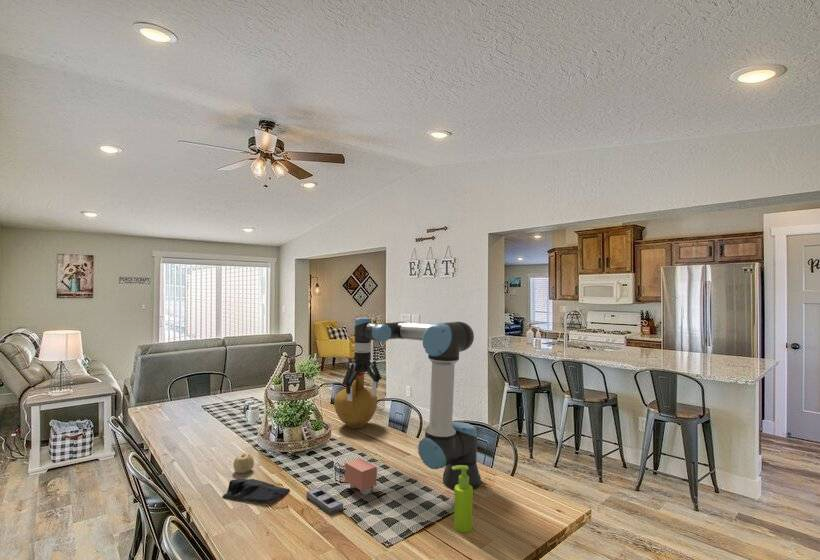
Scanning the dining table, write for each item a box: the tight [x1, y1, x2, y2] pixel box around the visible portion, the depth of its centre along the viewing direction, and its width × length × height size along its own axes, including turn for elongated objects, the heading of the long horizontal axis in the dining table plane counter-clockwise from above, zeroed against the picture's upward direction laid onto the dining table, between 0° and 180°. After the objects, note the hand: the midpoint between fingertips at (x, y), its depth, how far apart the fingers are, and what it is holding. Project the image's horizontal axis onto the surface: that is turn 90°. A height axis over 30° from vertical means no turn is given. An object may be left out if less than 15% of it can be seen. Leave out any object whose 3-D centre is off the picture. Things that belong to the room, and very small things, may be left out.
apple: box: [233, 452, 255, 474], centre depth 181 cm, size 8×8×8 cm
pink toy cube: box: [344, 457, 378, 495], centre depth 166 cm, size 11×7×10 cm, turn 43°
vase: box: [333, 372, 378, 429], centre depth 240 cm, size 24×24×30 cm
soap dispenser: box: [452, 465, 474, 534], centre depth 141 cm, size 6×7×20 cm
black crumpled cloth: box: [222, 478, 291, 504], centre depth 162 cm, size 15×22×5 cm
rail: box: [306, 486, 344, 515], centre depth 156 cm, size 16×5×2 cm, turn 43°
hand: (362, 398), depth 198 cm, fingers open, 13 cm apart
